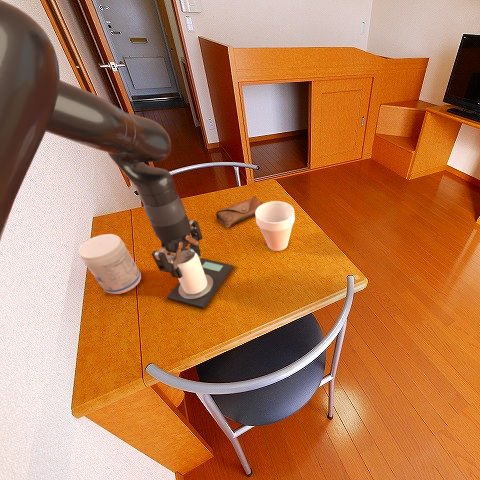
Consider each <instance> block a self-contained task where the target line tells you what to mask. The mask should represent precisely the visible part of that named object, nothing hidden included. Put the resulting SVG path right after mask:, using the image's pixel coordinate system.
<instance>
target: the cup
mask: <svg viewBox="0 0 480 480" xmlns="http://www.w3.org/2000/svg"><path fill="white" fill-rule="evenodd" d="M261 204H262V205H260V206H259V207H258V208H257V209H256V211H255V216H254V217H255V223H256V225H257V226H258V227H259V229H260V232H261V234H262V236H263V238H264V240H265V243H266V245H267V248H269V250H271V251H274V252H280V251H283V250H285V249H286V248H287V247H288V245H289V241H290V237H291V233H292V229H293V226H294V223H295V219H296V217H295V209H294V206H292V205H291V204H290V203H288V202H285V201H281V200H272V201H267V202H264V203H261Z"/></svg>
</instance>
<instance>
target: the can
mask: <svg viewBox="0 0 480 480" xmlns="http://www.w3.org/2000/svg"><path fill="white" fill-rule="evenodd" d="M172 255H175V253H172ZM200 259H201V258H200V257H198V255H197V254H196V253H195V251H194V250H193V249H191V248H190V247H186V248H184V249H183V251H182V252H181V257H180V259H179V260H178V267H179V269H180V271H181V274H182V277H181V278H177V279H178V283H179V282H180V284H181V286H182V288H183V290H184V292H185V293H187V294H197V293H200V292H201V291H203V290H204V289H205V288H206V286H207V279H206V276H205V273H204V271H203V268H202V265H201V262H200ZM171 263H173V260H172V259H171Z"/></svg>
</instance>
